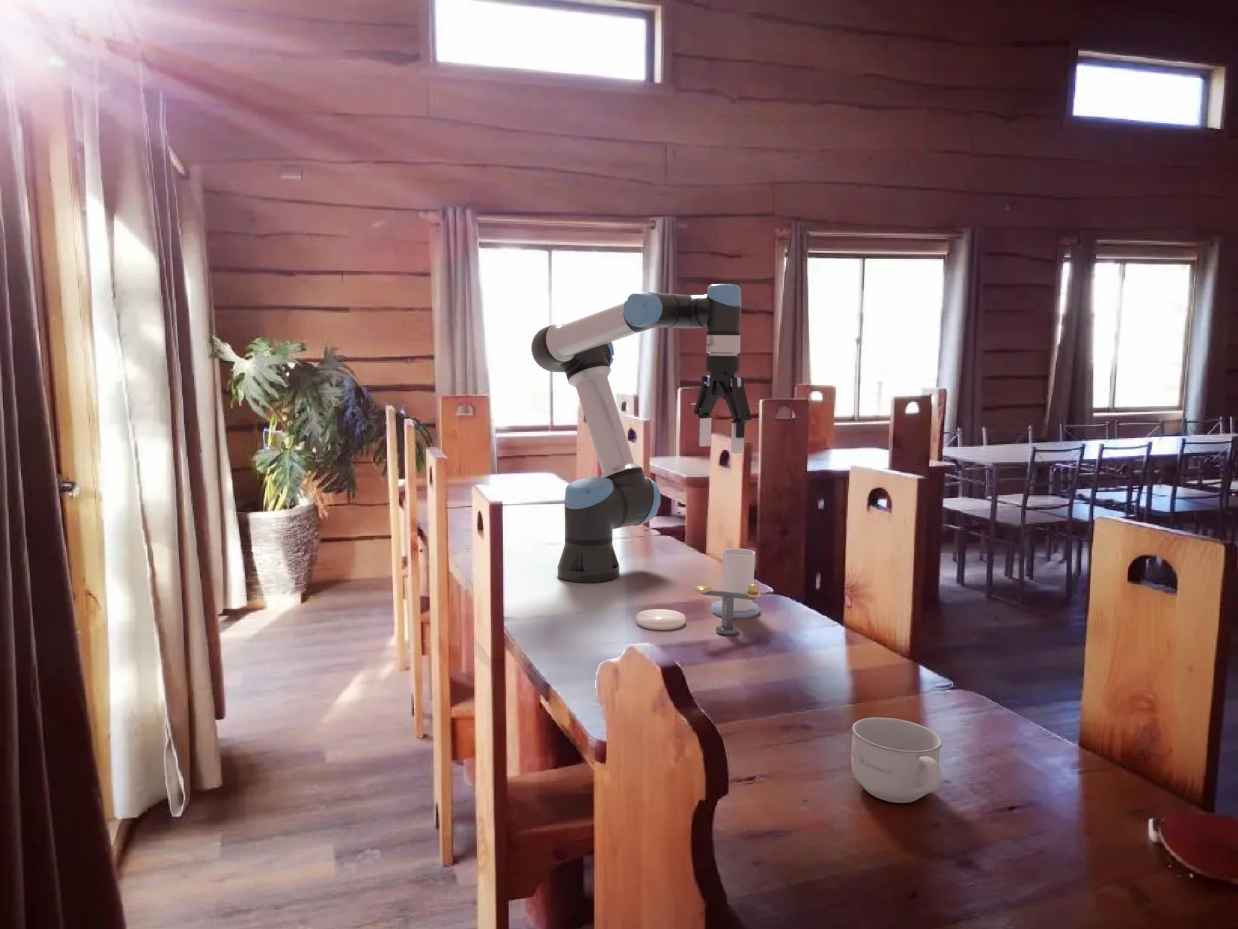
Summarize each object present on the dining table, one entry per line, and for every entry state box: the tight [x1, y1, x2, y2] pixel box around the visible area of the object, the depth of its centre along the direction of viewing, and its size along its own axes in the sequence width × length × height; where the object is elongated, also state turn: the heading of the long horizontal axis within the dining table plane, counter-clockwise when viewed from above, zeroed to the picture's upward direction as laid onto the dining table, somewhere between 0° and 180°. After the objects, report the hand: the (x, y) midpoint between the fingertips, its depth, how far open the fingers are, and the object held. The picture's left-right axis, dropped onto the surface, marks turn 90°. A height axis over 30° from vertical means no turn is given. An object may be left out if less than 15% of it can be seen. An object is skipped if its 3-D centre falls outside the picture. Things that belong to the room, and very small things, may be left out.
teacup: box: [850, 716, 943, 804], centre depth 111 cm, size 14×11×8 cm
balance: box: [694, 583, 762, 637], centre depth 175 cm, size 4×15×10 cm, turn 116°
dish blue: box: [711, 599, 760, 619], centre depth 189 cm, size 10×10×1 cm
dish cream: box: [635, 608, 686, 631], centre depth 181 cm, size 10×10×1 cm
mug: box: [721, 547, 756, 611], centre depth 188 cm, size 10×7×12 cm, turn 11°
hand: (720, 449), depth 201 cm, fingers open, 13 cm apart
